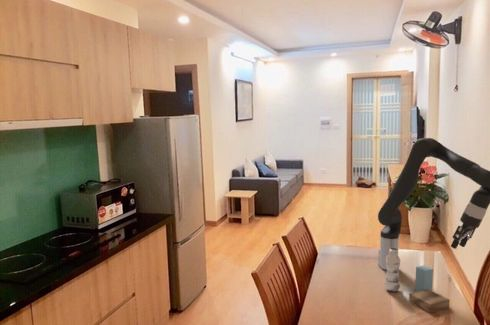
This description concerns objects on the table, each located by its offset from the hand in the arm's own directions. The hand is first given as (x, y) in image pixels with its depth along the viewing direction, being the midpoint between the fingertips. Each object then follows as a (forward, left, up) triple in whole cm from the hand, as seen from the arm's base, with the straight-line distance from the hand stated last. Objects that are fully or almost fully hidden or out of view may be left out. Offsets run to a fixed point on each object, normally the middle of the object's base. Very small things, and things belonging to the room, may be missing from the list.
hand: (457, 246), depth 167 cm
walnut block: (0, -16, -24) cm, 29 cm away
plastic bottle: (-17, -20, -24) cm, 35 cm away
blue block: (-9, -9, -23) cm, 27 cm away
